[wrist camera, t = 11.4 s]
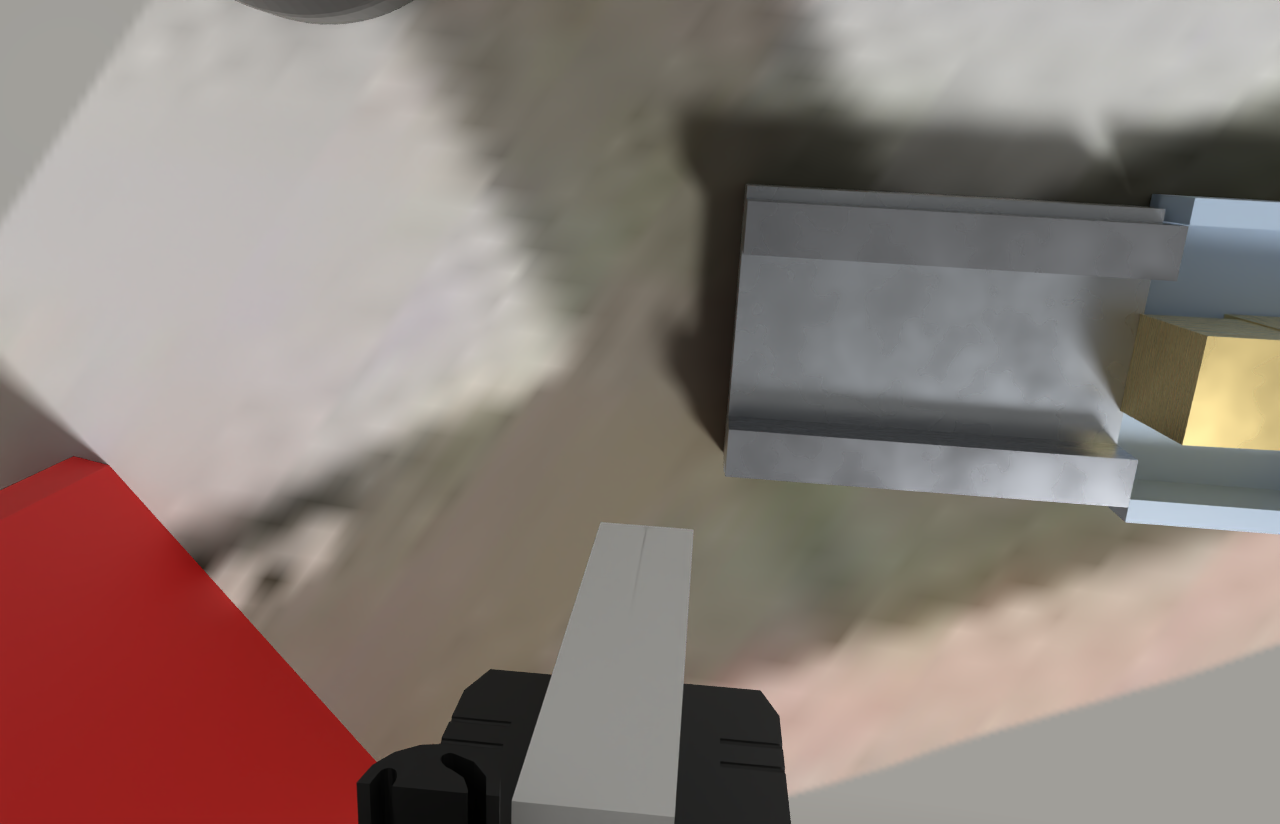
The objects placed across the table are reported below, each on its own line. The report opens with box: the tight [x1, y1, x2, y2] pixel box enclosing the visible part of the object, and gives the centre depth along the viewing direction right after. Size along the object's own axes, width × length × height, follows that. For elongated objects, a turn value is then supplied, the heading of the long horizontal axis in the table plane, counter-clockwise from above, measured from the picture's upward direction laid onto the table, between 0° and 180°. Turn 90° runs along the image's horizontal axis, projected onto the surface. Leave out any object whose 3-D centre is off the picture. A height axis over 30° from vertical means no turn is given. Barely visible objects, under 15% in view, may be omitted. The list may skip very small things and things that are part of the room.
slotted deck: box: [724, 184, 1189, 508], centre depth 37 cm, size 12×16×4 cm
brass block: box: [1120, 314, 1280, 451], centre depth 34 cm, size 4×4×4 cm
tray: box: [1108, 194, 1280, 534], centre depth 37 cm, size 13×11×4 cm
